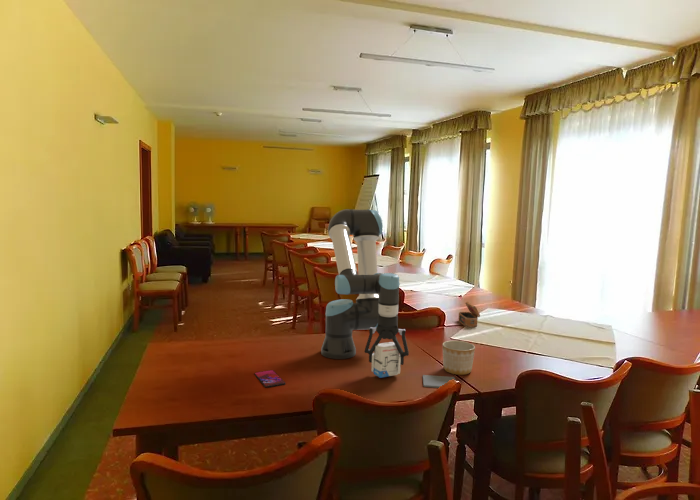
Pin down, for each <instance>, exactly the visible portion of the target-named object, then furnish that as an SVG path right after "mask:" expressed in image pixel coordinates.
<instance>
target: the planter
mask: <svg viewBox="0 0 700 500" xmlns="http://www.w3.org/2000/svg"><path fill="white" fill-rule="evenodd" d="M475 351H476V346H475V345H474V344H473V343H470V342H468V341H463V340H446V341H444V342H443V343H442V362H443V363H442V364H443V365H442V366H443V369H444V371H445V372H447V373H449V374H452V375H457V376H464V375H465V376H466V375H468V374H470V373H471V372H472V369H473V363H474V358H475Z"/></svg>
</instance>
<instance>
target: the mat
mask: <svg viewBox="0 0 700 500" xmlns="http://www.w3.org/2000/svg"><path fill="white" fill-rule="evenodd" d="M452 379H454V380H455V381H456V377H455V376H443V375H442V376H441V375H431V374H423V375H422V382H423V385H422V386H423V387H424V388H437V389H440V388H439V387H440V386H442V385H444V384H445V383H447V382H448V381H449V380H452Z"/></svg>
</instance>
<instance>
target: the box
mask: <svg viewBox="0 0 700 500" xmlns="http://www.w3.org/2000/svg"><path fill="white" fill-rule="evenodd" d="M465 305H466V308H467V310H468V311H459V312H458V322H459V323H461V324H462V325H463V326H464V327H466V328H477V327H478V321H479V320H478V319H479V318H480V317H481V314H480V312H479V310H478V308H477V307H476V305H474V304H472V303H470V302H469V301H465Z"/></svg>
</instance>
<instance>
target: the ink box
mask: <svg viewBox="0 0 700 500" xmlns="http://www.w3.org/2000/svg"><path fill="white" fill-rule="evenodd" d="M373 353H374V372H373V374H374V376H376V377H378V378H380V379H382V378H387V377H393V376H398V375H399V374H398V363H399V355H400V354H399V352H398V350H397V348H396V346H395V344H394V342H393V341H389V342H381V343H380V342H379V344H378V345H377V346H376V348H375V350H374V352H373Z"/></svg>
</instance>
